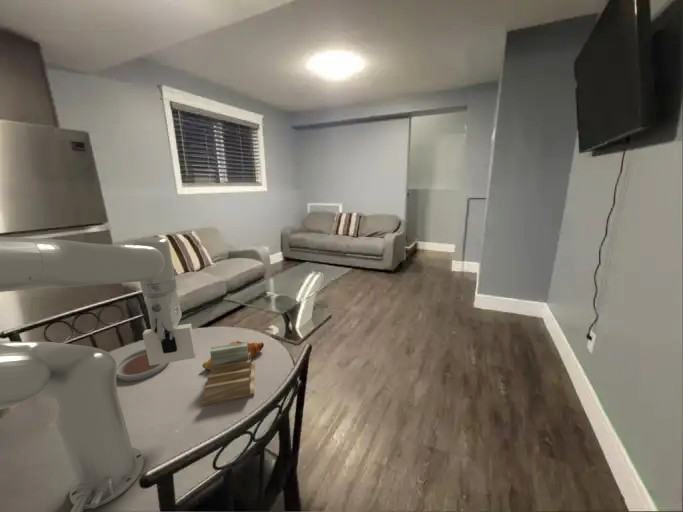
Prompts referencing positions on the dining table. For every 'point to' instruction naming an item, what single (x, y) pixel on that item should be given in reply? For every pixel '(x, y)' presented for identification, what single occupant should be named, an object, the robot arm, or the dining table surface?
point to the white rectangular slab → (183, 344)
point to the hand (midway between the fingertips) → (171, 348)
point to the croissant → (252, 348)
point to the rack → (230, 374)
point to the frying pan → (137, 367)
